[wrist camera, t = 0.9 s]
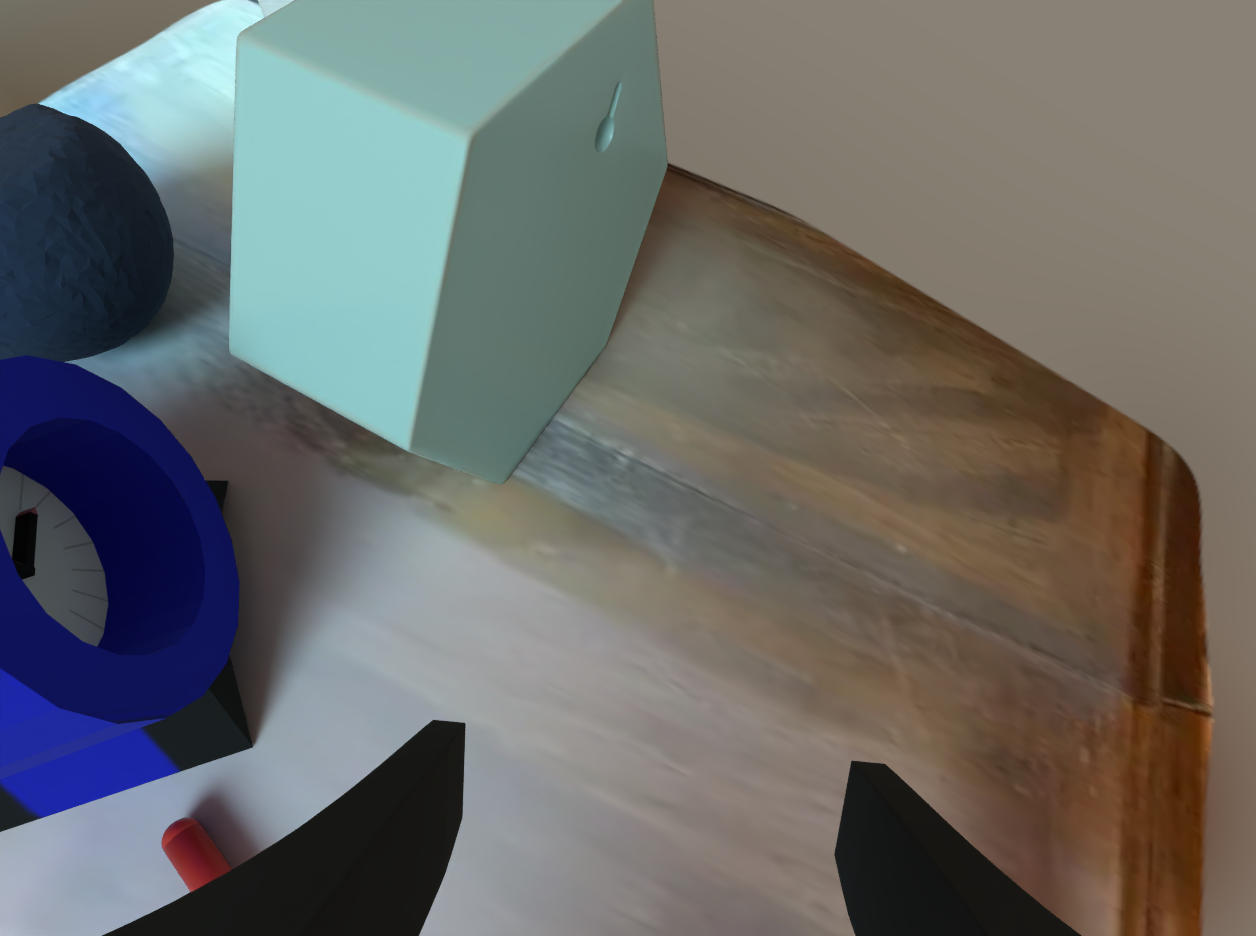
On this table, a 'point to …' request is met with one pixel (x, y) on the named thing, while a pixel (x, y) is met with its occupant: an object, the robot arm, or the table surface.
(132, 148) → the table surface
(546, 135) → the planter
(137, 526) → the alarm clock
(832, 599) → the table surface
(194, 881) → the red rod and disc
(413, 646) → the table surface
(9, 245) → the decorative stone
